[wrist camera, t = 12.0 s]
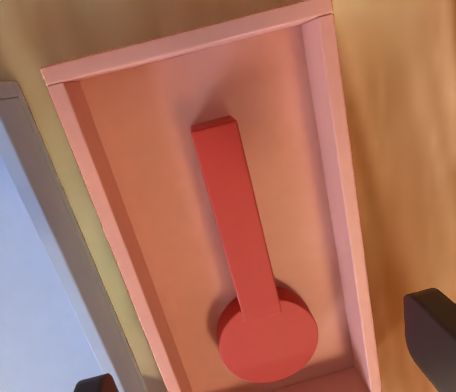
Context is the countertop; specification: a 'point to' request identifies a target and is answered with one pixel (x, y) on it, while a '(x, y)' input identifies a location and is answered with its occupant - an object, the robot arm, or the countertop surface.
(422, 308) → the robot arm
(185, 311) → the red tray
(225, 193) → the red spoon
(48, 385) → the blue tray
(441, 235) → the countertop surface
